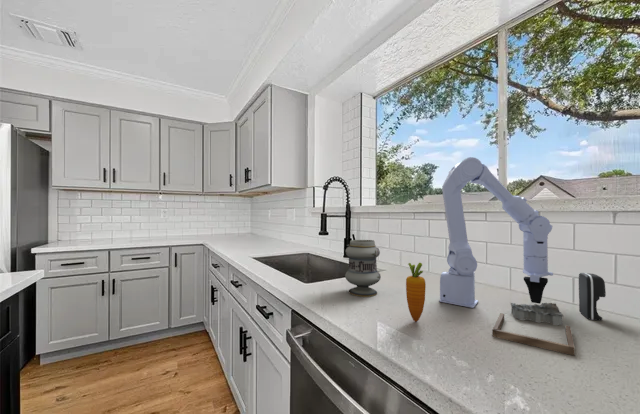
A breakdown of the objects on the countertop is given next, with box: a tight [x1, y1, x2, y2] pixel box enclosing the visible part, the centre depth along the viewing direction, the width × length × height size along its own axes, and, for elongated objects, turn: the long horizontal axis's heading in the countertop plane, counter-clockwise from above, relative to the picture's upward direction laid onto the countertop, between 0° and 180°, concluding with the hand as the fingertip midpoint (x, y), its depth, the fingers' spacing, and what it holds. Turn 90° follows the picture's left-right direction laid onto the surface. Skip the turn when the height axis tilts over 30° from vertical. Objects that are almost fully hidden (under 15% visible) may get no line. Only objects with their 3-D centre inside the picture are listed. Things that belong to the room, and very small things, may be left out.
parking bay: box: [491, 312, 576, 357], centre depth 64 cm, size 14×14×2 cm
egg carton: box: [510, 302, 564, 326], centre depth 75 cm, size 11×8×4 cm
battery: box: [578, 272, 607, 321], centre depth 76 cm, size 7×4×11 cm, turn 153°
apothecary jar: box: [344, 239, 381, 298], centre depth 98 cm, size 12×12×18 cm
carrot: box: [405, 262, 426, 323], centre depth 71 cm, size 5×5×15 cm
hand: (535, 302), depth 84 cm, fingers closed
